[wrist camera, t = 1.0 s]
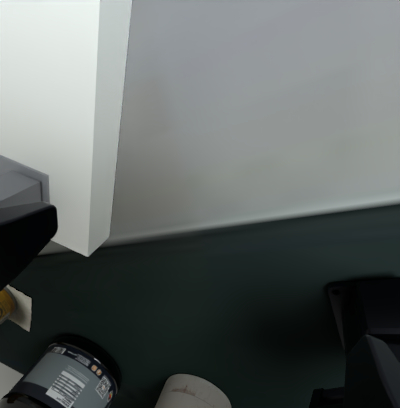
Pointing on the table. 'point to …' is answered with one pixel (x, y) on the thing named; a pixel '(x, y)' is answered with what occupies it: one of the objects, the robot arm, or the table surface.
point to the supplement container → (67, 378)
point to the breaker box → (65, 106)
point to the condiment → (15, 307)
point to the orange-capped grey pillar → (18, 189)
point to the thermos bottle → (191, 393)
